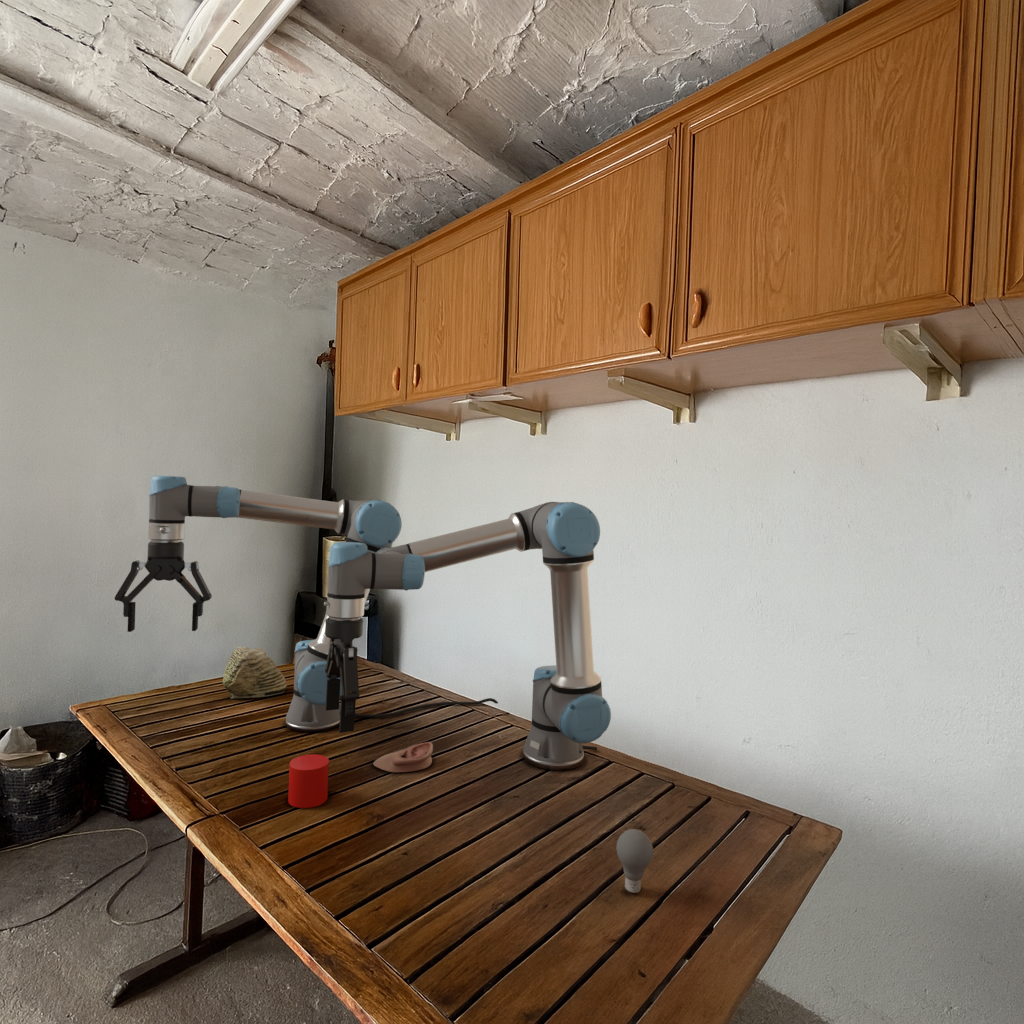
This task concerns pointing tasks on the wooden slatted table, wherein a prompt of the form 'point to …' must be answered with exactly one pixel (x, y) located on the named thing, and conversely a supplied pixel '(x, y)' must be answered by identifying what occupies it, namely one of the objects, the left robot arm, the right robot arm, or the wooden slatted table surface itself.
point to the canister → (308, 781)
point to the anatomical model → (407, 759)
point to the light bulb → (634, 857)
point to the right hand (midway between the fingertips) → (339, 720)
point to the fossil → (252, 674)
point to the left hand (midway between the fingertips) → (163, 630)
